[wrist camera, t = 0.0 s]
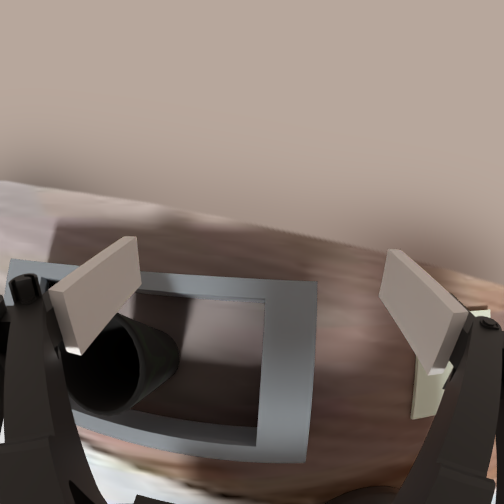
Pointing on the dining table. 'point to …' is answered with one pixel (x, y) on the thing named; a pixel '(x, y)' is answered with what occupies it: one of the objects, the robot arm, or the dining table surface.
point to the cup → (119, 366)
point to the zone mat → (431, 385)
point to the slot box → (272, 370)
